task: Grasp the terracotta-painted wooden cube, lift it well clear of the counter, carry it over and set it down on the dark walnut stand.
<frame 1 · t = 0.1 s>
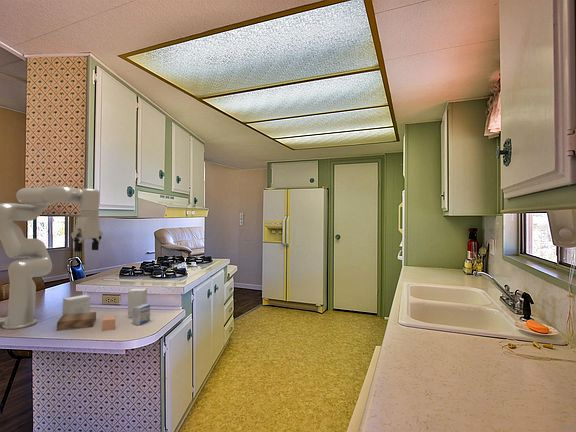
hand: (86, 250, 138), 37 cm above the worktop, tool pointing down, fingers open, 9 cm apart
medicine box: (140, 323, 150), on the worktop
terracotta cube: (108, 328, 140), on the worktop
skincare box 2: (75, 317, 156), on the worktop
skincare box: (136, 316, 160), on the worktop
walnut stand: (77, 324, 144), on the worktop
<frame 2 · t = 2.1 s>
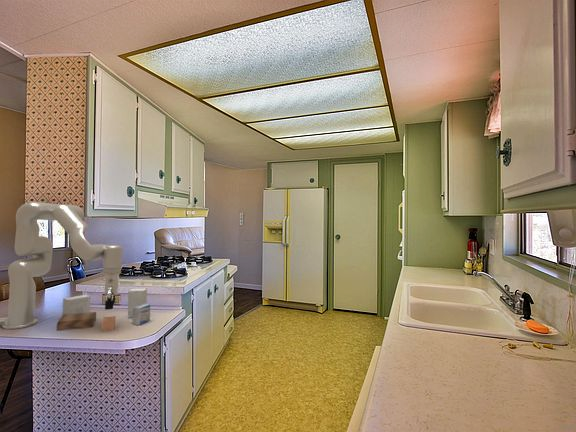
hand: (109, 306, 141), 10 cm above the worktop, tool pointing down, fingers open, 9 cm apart
nothing on the worktop moved.
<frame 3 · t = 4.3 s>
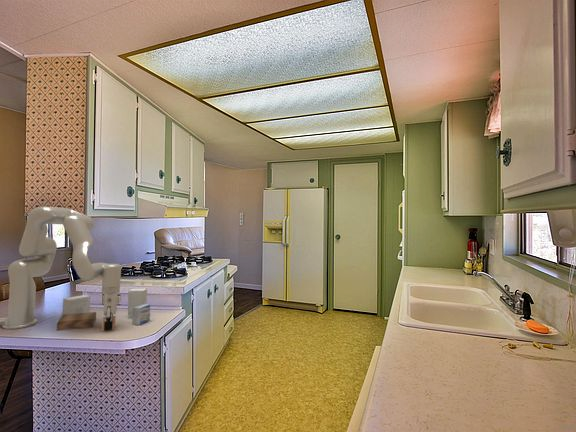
hand: (108, 327, 140), 1 cm above the worktop, tool pointing down, fingers closed on terracotta cube, 5 cm apart
terracotta cube: (108, 328, 140), on the worktop, touching gripper
everything else where it was.
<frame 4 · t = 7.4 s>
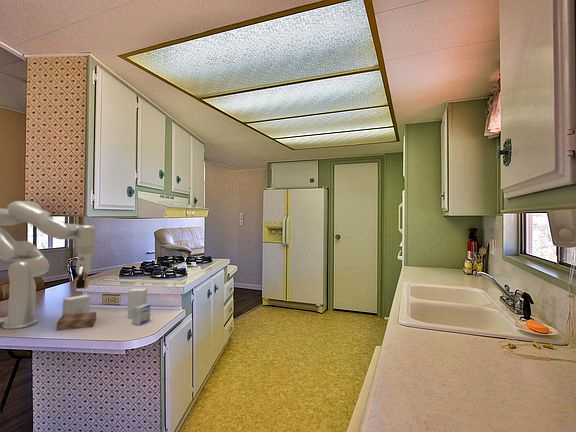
hand: (81, 286, 144), 19 cm above the worktop, tool pointing down, fingers closed on terracotta cube, 5 cm apart
terracotta cube: (81, 287, 144), point 18 cm above the worktop, touching gripper
everything else where it was.
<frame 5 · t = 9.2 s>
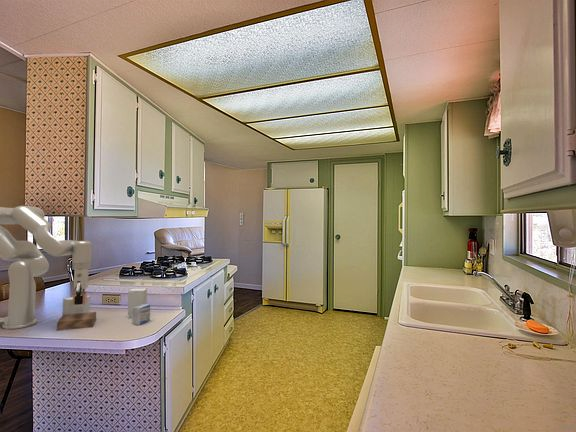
hand: (79, 302, 144), 11 cm above the worktop, tool pointing down, fingers closed on terracotta cube, 5 cm apart
terracotta cube: (79, 303, 144), point 10 cm above the worktop, touching gripper
everything else where it was.
when the fingers open (6 cm above the worktop, at t = 10.6 s): terracotta cube drops 1 cm, resting on walnut stand.
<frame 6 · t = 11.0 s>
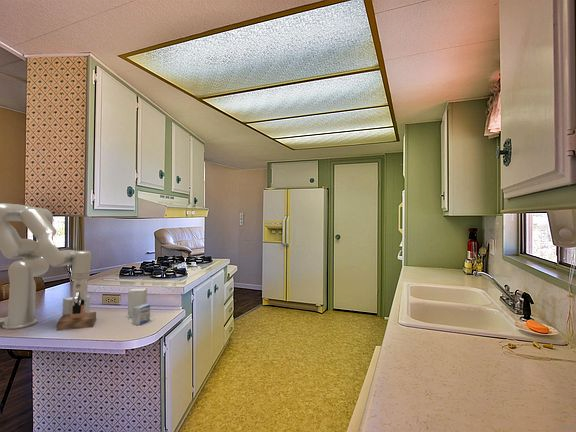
hand: (78, 310, 144), 7 cm above the worktop, tool pointing down, fingers open, 9 cm apart
terracotta cube: (77, 316, 144), point 4 cm above the worktop, touching walnut stand
everything else where it was.
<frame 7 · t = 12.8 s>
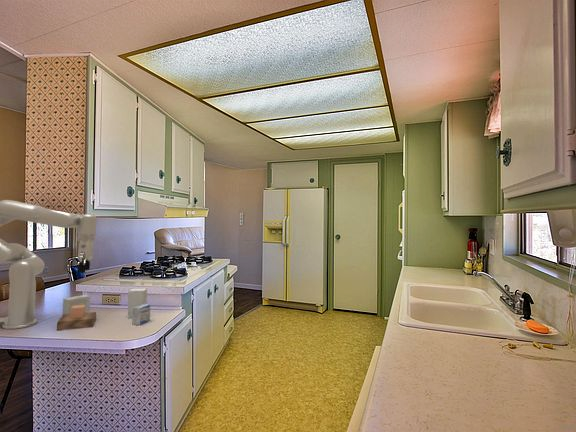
hand: (83, 271, 151), 25 cm above the worktop, tool pointing down, fingers open, 9 cm apart
nothing on the worktop moved.
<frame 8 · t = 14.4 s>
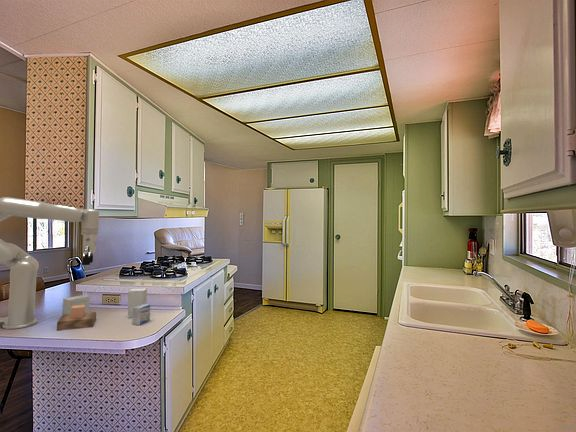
hand: (87, 263, 157), 28 cm above the worktop, tool pointing down, fingers open, 9 cm apart
nothing on the worktop moved.
at the end: terracotta cube inside the target area on the walnut stand (0.0 cm from its centre), point 4.0 cm above the walnut stand's base; terracotta cube tilted 0°; the gripper is holding nothing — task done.
